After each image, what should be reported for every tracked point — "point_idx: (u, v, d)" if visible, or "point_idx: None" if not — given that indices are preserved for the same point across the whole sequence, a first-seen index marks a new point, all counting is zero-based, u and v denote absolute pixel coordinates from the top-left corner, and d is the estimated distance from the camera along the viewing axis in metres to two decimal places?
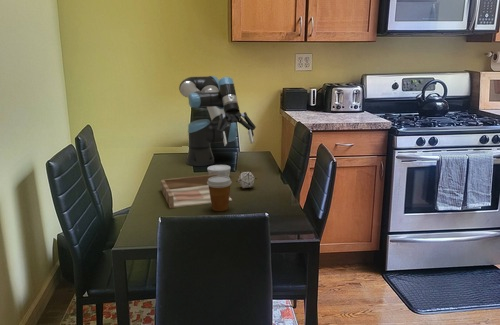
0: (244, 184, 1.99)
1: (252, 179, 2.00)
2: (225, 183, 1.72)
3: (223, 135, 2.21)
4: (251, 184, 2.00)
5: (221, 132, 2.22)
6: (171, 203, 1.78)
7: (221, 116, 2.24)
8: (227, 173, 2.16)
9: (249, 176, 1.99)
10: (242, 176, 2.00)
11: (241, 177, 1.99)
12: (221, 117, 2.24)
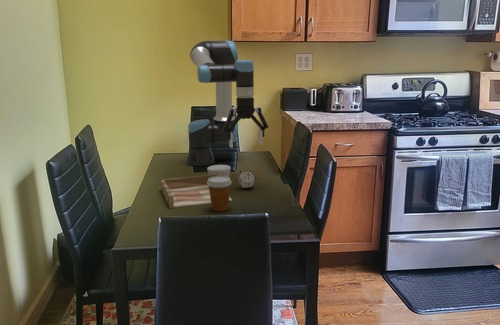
0: (244, 184, 1.99)
1: (252, 179, 2.00)
2: (225, 183, 1.72)
3: (230, 136, 1.94)
4: (251, 184, 2.00)
5: (228, 132, 1.94)
6: (171, 203, 1.78)
7: (231, 113, 1.92)
8: (227, 173, 2.16)
9: (249, 176, 1.99)
10: (242, 176, 2.00)
11: (241, 177, 1.99)
12: (231, 114, 1.92)
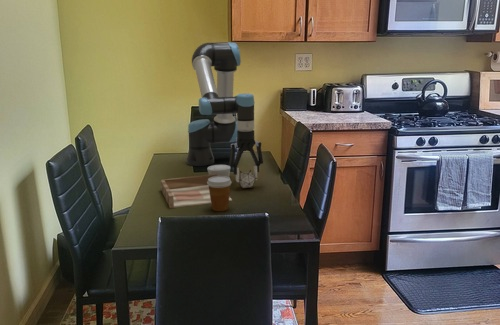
0: (244, 184, 1.99)
1: (252, 179, 2.00)
2: (225, 183, 1.72)
3: (236, 171, 1.99)
4: (251, 184, 2.00)
5: (235, 168, 1.98)
6: (171, 203, 1.78)
7: (233, 148, 1.95)
8: (227, 173, 2.16)
9: (249, 176, 1.99)
10: (242, 176, 2.00)
11: (241, 177, 1.99)
12: (233, 149, 1.95)
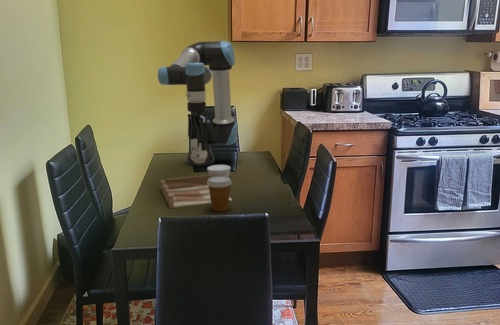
0: None
1: (194, 155, 1.87)
2: (225, 183, 1.72)
3: None
4: (194, 160, 1.88)
5: None
6: (171, 203, 1.78)
7: (188, 118, 1.91)
8: (227, 173, 2.16)
9: (193, 151, 1.88)
10: None
11: None
12: (188, 119, 1.91)
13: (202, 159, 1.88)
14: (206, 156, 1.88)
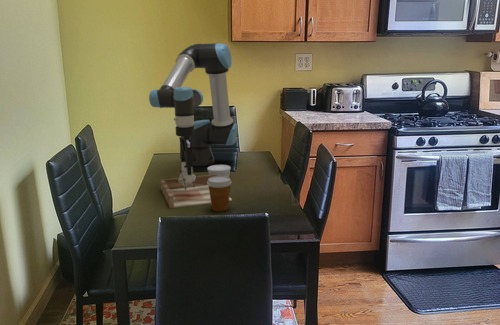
0: None
1: (181, 179, 1.87)
2: (225, 183, 1.72)
3: None
4: (181, 184, 1.88)
5: None
6: (171, 203, 1.78)
7: None
8: (227, 173, 2.16)
9: (180, 174, 1.88)
10: None
11: None
12: None
13: (189, 183, 1.88)
14: (193, 180, 1.88)
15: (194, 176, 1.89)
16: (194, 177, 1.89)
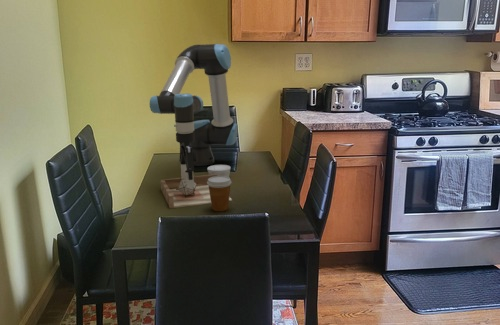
0: None
1: (181, 186, 1.88)
2: (225, 183, 1.72)
3: None
4: (182, 191, 1.89)
5: (182, 164, 1.95)
6: (171, 203, 1.78)
7: (180, 145, 1.92)
8: (227, 173, 2.16)
9: (180, 182, 1.89)
10: None
11: None
12: (180, 146, 1.93)
13: (189, 191, 1.88)
14: (193, 188, 1.89)
15: (194, 184, 1.90)
16: (194, 185, 1.90)
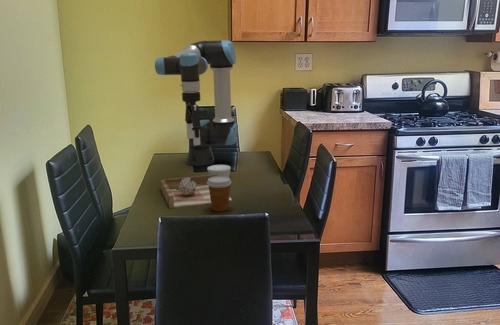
0: None
1: (181, 186, 1.88)
2: (225, 183, 1.72)
3: None
4: (182, 191, 1.89)
5: (187, 123, 1.98)
6: (171, 203, 1.78)
7: (186, 105, 1.95)
8: (227, 173, 2.16)
9: (180, 182, 1.89)
10: None
11: None
12: None
13: (189, 191, 1.88)
14: (193, 188, 1.89)
15: (194, 184, 1.90)
16: (194, 185, 1.90)
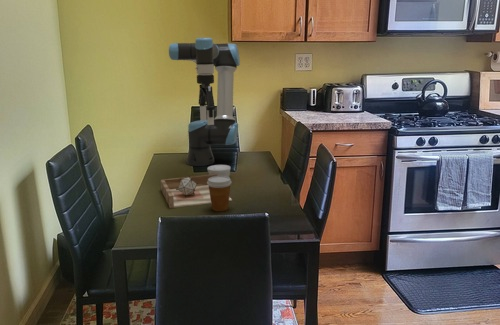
0: None
1: (181, 186, 1.88)
2: (225, 183, 1.72)
3: None
4: (182, 191, 1.89)
5: None
6: (171, 203, 1.78)
7: None
8: (227, 173, 2.16)
9: (180, 182, 1.89)
10: None
11: None
12: None
13: (189, 191, 1.88)
14: (193, 188, 1.89)
15: (194, 184, 1.90)
16: (194, 185, 1.90)
